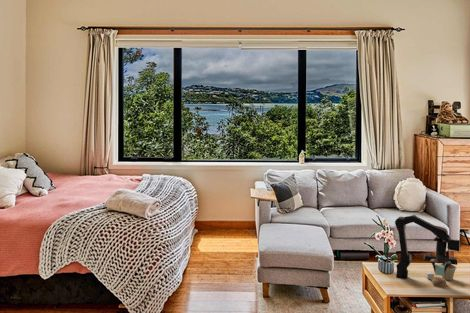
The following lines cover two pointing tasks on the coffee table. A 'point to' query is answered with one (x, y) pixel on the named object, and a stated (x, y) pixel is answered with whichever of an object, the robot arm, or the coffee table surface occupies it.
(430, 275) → the grey block
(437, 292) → the coffee table surface
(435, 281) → the walnut base block
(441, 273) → the teal block
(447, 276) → the flower pot
